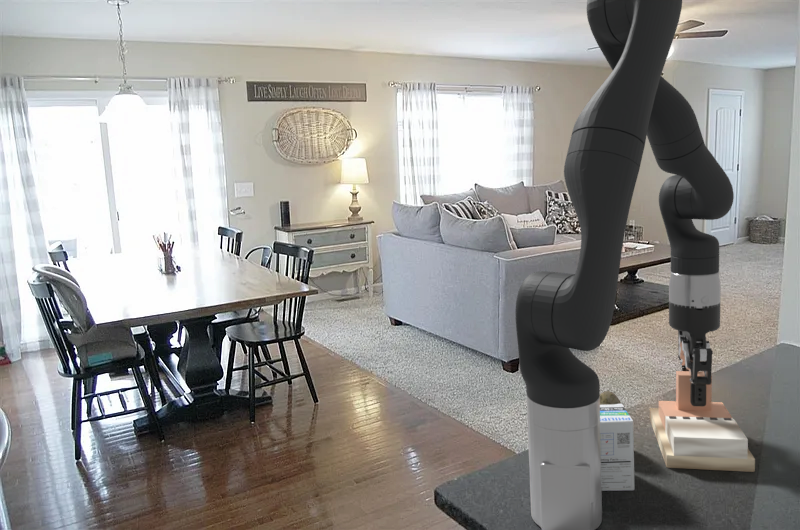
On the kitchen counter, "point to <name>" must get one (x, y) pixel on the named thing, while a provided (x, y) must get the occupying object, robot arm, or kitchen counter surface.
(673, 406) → the stub
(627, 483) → the light bulb box
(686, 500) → the kitchen counter surface
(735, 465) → the pad
